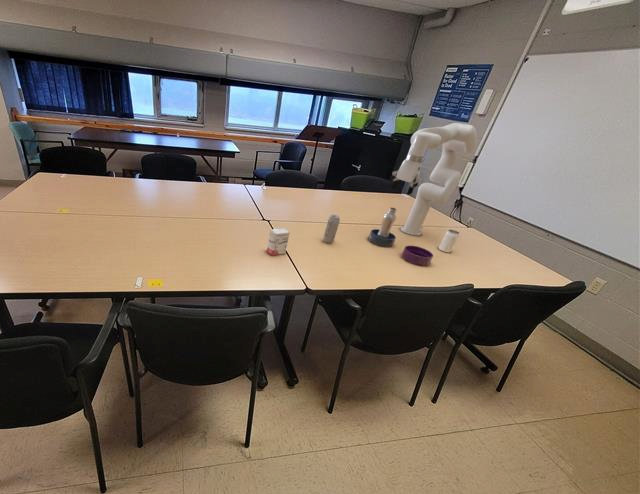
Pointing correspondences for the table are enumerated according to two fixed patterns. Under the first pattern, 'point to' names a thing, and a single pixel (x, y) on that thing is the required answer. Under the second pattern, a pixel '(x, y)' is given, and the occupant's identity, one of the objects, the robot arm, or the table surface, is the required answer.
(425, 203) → the robot arm
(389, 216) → the silver metal bottle
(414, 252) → the plum bowl
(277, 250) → the ink box
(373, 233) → the blue bowl
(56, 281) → the table surface
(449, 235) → the can
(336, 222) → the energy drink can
